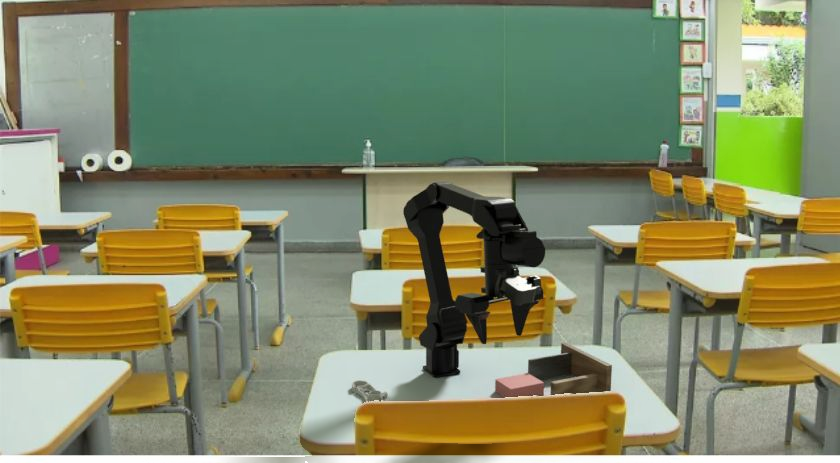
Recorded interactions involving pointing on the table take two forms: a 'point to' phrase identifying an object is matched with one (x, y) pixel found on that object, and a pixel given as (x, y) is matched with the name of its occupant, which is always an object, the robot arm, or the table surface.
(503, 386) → the block
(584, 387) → the shelf
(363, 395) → the bracket
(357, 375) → the table surface
